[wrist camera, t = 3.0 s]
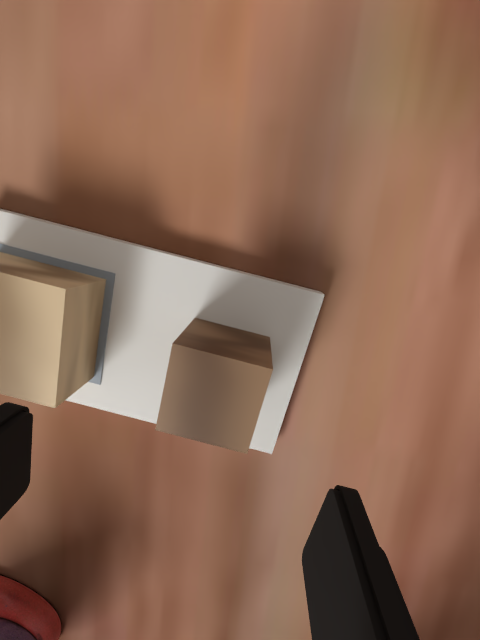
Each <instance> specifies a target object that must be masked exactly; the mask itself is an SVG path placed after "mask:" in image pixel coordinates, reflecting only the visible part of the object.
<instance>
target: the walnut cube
mask: <svg viewBox="0 0 480 640" xmlns="http://www.w3.org/2000/svg"><path fill="white" fill-rule="evenodd" d="M272 371H273V364H272V353H271V343H270V337H268V336H264V335H260V334H256V333H253V332H249V331H245V330H241V329H237V328H233V327H230V326H226V325H222V324H218V323H214V322H210V321H206V320H203V319H199V318H194V319H193V320H192V321H191V323H190V324H189V325H188V326H187V327H186V328H185V330H184V331H183V332H182V333H181V334H180V335H179V336H178V338H177V339H176V340H175V341H174V342H173V343H172V348H171V353H170V358H169V363H168V368H167V373H166V378H165V384H164V389H163V394H162V399H161V404H160V409H159V414H158V419H157V424H156V429H155V430H157V431H161V432H165V433H169V434H173V435H177V436H180V437H184V438H188V439H192V440H196V441H200V442H203V443H207V444H211V445H215V446H219V447H223V448H226V449H230V450H234V451H238V452H242V453H246V454H247V453H248V450H249V446H250V443H251V440H252V437H253V433H254V430H255V427H256V424H257V420H258V417H259V414H260V410H261V407H262V404H263V401H264V397H265V394H266V391H267V388H268V384H269V381H270V378H271V374H272Z"/></svg>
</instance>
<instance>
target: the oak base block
mask: <svg viewBox="0 0 480 640" xmlns="http://www.w3.org/2000/svg"><path fill="white" fill-rule="evenodd" d="M105 284H106V279H103V278H99V277H95V276H91V275H87V274H84V273H80V272H76V271H72V270H68V269H64V268H61V267H57V266H53V265H49V264H45V263H41V262H37V261H34V260H30V259H26V258H22V257H18V256H14V255H10V254H7V253H3V252H0V394H3V395H7V396H10V397H14V398H18V399H22V400H26V401H30V402H34V403H37V404H41V405H45V406H49V407H53V408H56V407H57V406H58V405H60V404H61V403H62V402H63V401H65V400H66V399H67V398H68V397H70V396H71V395H72V394H73V393H75V392H76V391H77V390H78V389H79V388H81V387H82V386H83V385H84V384H86V383H87V382H88V381H89V380H91V379H92V378H93V377H94V372H95V364H96V356H97V348H98V340H99V332H100V324H101V316H102V308H103V300H104V292H105Z"/></svg>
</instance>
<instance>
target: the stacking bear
mask: <svg viewBox="0 0 480 640" xmlns="http://www.w3.org/2000/svg"><path fill="white" fill-rule="evenodd" d="M60 634H61V622H60V619H59V616H58V614H57V612H56V611H55V610H54V608H53V607H52V606H51V605H50V604H49V603H48V602H47V601H46V600H45V599H44V598H42V597H41V596H40V595H38V594H37V593H35V592H34V591H32V590H31V589H29V588H27V587H26V586H24V585H22V584H20V583H18V582H16V581H14V580H12V579H9V578H7V577H4V576H1V575H0V640H58V639H59V636H60Z"/></svg>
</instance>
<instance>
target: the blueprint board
mask: <svg viewBox="0 0 480 640" xmlns="http://www.w3.org/2000/svg"><path fill="white" fill-rule="evenodd" d="M0 252H3V253H7V254H10V255H14V256H18V257H22V258H26V259H30V260H34V261H37V262H41V263H45V264H49V265H53V266H57V267H61V268H64V269H68V270H72V271H76V272H80V273H84V274H87V275H91V276H95V277H99V278H103V279H106V284H105V292H104V300H103V308H102V316H101V324H100V332H99V340H98V348H97V356H96V364H95V372H94V377H93V378H92V379H91V380H89V381H88V382H87V383H86V384H84V385H83V386H82V387H81V388H79V389H78V390H77V391H76V392H75V393H73V394H72V395H71V396H70V397H68V398H67V399H66V400H67V401H71V402H75V403H78V404H82V405H86V406H90V407H94V408H98V409H101V410H105V411H109V412H113V413H117V414H121V415H124V416H128V417H132V418H136V419H140V420H144V421H147V422H151V423H155V424H157V419H158V414H159V409H160V404H161V399H162V394H163V389H164V384H165V378H166V373H167V368H168V363H169V358H170V353H171V348H172V343H173V342H174V341H175V340H176V339H177V338H178V336H179V335H180V334H181V333H182V332H183V331H184V330H185V328H186V327H187V326H188V325H189V324H190V323H191V321H192V320H193V319H194V318H199V319H203V320H206V321H210V322H214V323H218V324H222V325H226V326H230V327H233V328H237V329H241V330H245V331H249V332H253V333H256V334H260V335H264V336H268V337H270V343H271V353H272V364H273V371H272V374H271V378H270V381H269V384H268V388H267V391H266V394H265V397H264V401H263V404H262V407H261V410H260V414H259V417H258V420H257V424H256V427H255V430H254V433H253V437H252V440H251V443H250V446H249V448H251V449H255V450H259V451H263V452H266V453H270V454H272V452H273V449H274V446H275V443H276V440H277V437H278V434H279V431H280V428H281V425H282V422H283V419H284V416H285V413H286V410H287V407H288V404H289V401H290V398H291V395H292V392H293V389H294V386H295V383H296V380H297V377H298V374H299V371H300V368H301V365H302V362H303V359H304V356H305V353H306V350H307V347H308V344H309V341H310V338H311V335H312V332H313V329H314V326H315V323H316V320H317V317H318V314H319V311H320V308H321V305H322V302H323V299H324V296H325V295H324V294H323V293H322V292H320V291H317V290H313V289H309V288H305V287H301V286H297V285H293V284H290V283H286V282H282V281H278V280H274V279H270V278H266V277H263V276H259V275H255V274H251V273H247V272H243V271H239V270H236V269H232V268H228V267H224V266H220V265H216V264H212V263H209V262H205V261H201V260H197V259H193V258H189V257H185V256H182V255H178V254H174V253H170V252H166V251H162V250H158V249H155V248H151V247H147V246H143V245H139V244H135V243H131V242H128V241H124V240H120V239H116V238H112V237H108V236H104V235H101V234H97V233H93V232H89V231H85V230H81V229H77V228H74V227H70V226H66V225H62V224H58V223H54V222H50V221H47V220H43V219H39V218H35V217H31V216H27V215H23V214H20V213H16V212H12V211H8V210H4V209H0Z"/></svg>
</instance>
